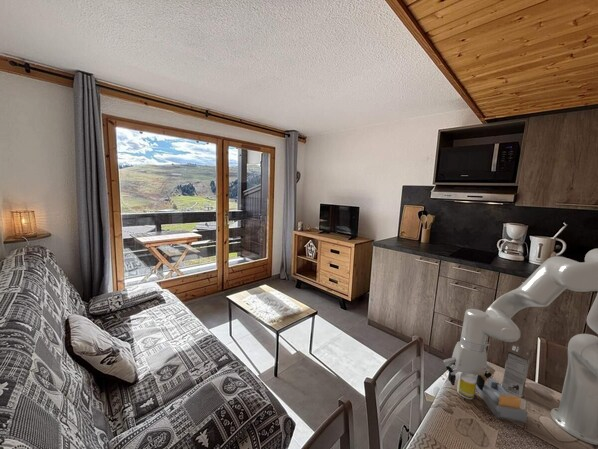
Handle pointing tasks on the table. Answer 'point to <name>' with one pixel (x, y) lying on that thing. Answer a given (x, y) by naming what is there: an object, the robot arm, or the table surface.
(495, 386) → the lane base
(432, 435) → the table surface
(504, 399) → the pusher
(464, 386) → the supplement bottle
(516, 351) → the coffee box
